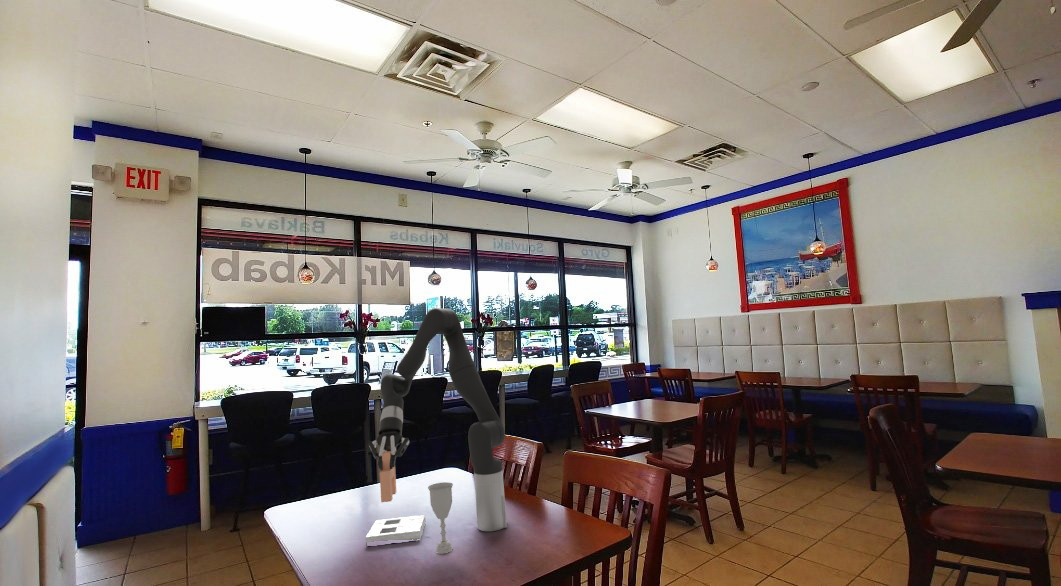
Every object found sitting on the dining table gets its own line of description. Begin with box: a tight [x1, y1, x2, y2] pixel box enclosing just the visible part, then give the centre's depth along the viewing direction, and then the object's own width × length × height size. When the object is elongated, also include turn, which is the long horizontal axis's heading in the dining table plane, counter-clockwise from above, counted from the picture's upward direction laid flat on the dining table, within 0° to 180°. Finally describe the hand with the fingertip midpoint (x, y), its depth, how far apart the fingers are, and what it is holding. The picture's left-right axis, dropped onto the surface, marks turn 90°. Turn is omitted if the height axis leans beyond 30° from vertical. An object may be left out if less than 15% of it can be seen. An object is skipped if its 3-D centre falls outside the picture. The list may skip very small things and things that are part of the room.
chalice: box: [427, 481, 454, 554], centre depth 143 cm, size 7×7×18 cm
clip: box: [379, 450, 397, 503], centre depth 158 cm, size 3×10×14 cm, turn 5°
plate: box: [365, 514, 426, 543], centre depth 156 cm, size 16×14×3 cm
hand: (386, 468), depth 156 cm, fingers closed on clip, 2 cm apart
